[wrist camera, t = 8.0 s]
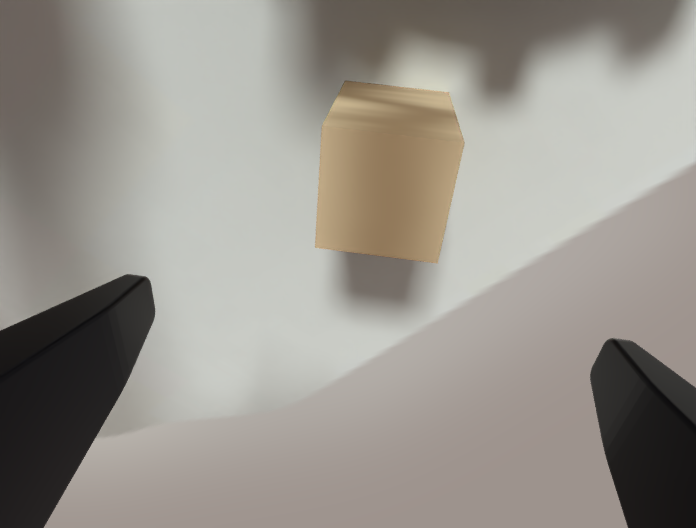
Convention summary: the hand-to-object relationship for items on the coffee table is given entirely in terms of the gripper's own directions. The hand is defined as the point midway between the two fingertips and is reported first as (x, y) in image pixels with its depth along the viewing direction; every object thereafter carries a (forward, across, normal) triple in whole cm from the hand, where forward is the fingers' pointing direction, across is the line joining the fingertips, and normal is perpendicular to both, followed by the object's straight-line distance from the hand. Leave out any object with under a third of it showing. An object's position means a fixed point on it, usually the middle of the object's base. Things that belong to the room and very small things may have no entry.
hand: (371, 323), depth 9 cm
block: (+12, 0, 0) cm, 12 cm away
